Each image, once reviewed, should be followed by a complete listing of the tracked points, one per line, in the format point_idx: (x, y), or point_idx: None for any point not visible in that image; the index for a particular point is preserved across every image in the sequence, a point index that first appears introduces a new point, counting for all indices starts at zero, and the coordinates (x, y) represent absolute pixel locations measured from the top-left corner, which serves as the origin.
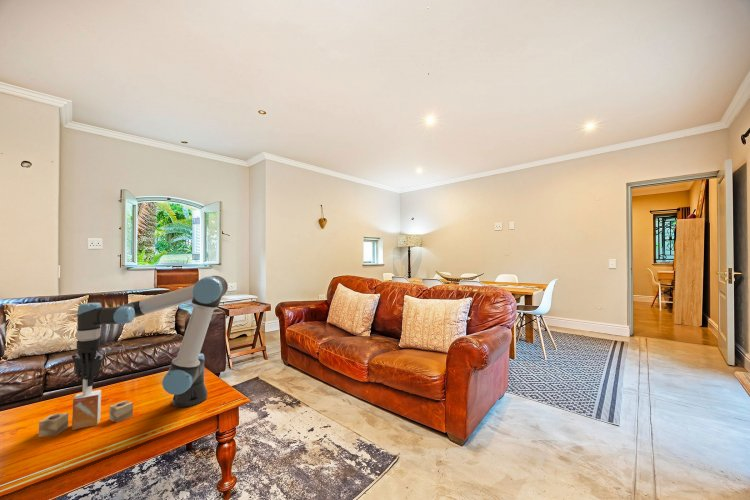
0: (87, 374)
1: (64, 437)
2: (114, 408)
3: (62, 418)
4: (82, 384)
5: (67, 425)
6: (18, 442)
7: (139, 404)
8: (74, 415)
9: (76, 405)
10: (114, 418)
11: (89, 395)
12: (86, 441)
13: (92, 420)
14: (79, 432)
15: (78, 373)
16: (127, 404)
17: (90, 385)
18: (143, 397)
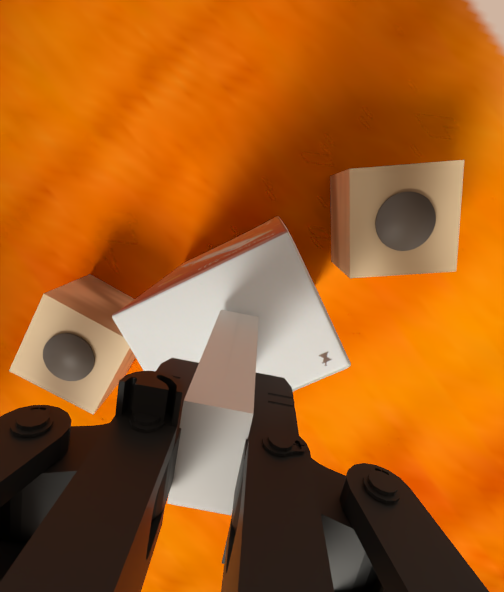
0: (122, 479)
1: (262, 142)
2: (77, 309)
3: (347, 223)
4: (280, 390)
5: (333, 258)
6: (488, 118)
7: None
8: (270, 224)
9: (261, 235)
10: (105, 291)
11: (185, 307)
12: (99, 77)
13: (195, 258)
14: (219, 189)
15: (399, 550)
16: (27, 352)
17: (165, 370)
18: None
